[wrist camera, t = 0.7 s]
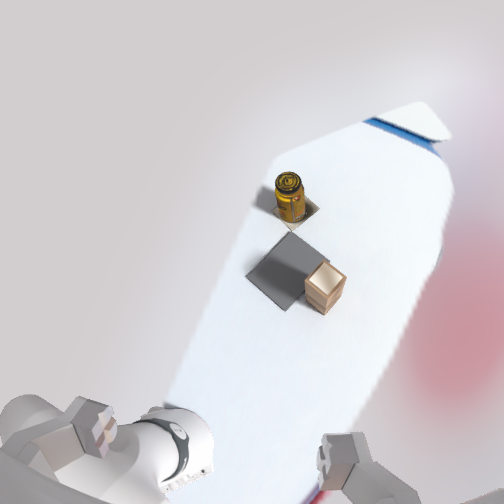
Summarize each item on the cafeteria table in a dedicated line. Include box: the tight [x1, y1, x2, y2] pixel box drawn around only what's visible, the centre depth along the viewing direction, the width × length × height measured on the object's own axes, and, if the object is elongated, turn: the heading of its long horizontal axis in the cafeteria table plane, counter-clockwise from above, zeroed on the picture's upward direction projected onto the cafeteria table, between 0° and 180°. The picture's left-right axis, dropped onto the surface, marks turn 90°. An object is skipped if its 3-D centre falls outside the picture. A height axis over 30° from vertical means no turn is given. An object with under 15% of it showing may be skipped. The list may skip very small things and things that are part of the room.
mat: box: [247, 231, 330, 312], centre depth 65 cm, size 14×11×1 cm
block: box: [305, 259, 347, 316], centre depth 56 cm, size 5×5×13 cm
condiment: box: [272, 172, 320, 231], centre depth 66 cm, size 7×8×12 cm
